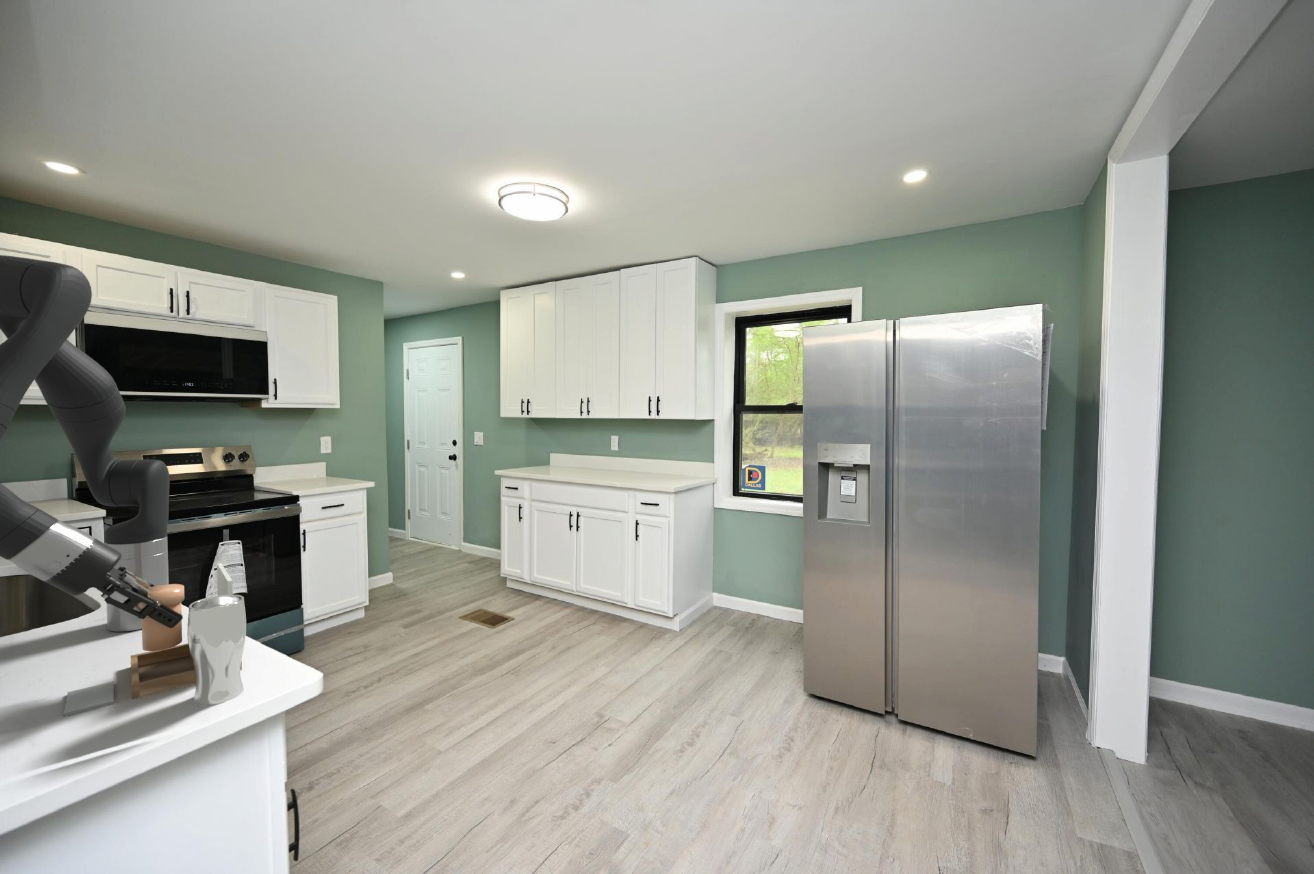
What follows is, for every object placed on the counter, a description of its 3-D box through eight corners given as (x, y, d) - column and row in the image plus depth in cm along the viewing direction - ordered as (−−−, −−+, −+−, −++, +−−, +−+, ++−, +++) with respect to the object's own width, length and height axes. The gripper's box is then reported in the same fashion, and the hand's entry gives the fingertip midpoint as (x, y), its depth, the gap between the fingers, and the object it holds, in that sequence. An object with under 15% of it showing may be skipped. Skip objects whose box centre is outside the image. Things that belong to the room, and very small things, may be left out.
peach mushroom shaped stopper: (138, 643, 90) (137, 588, 89) (183, 634, 94) (182, 581, 93) (139, 655, 86) (137, 598, 85) (186, 645, 90) (185, 590, 89)
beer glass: (235, 707, 82) (233, 607, 82) (179, 714, 80) (176, 611, 80) (255, 685, 89) (253, 592, 88) (203, 690, 87) (201, 596, 86)
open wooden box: (131, 670, 93) (129, 602, 93) (230, 647, 102) (229, 585, 102) (132, 702, 83) (130, 626, 83) (242, 674, 92) (241, 605, 92)
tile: (67, 698, 84) (67, 692, 84) (114, 687, 87) (113, 681, 87) (64, 720, 78) (63, 713, 78) (113, 707, 82) (113, 701, 82)
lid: (217, 612, 101) (216, 563, 100) (222, 611, 101) (221, 562, 101) (229, 635, 91) (227, 581, 90) (233, 634, 91) (232, 580, 91)
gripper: (90, 547, 78) (201, 609, 87) (94, 528, 89) (193, 586, 98) (35, 592, 75) (157, 652, 84) (46, 567, 85) (153, 623, 94)
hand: (176, 616), depth 91 cm, fingers closed on peach mushroom shaped stopper, 5 cm apart
